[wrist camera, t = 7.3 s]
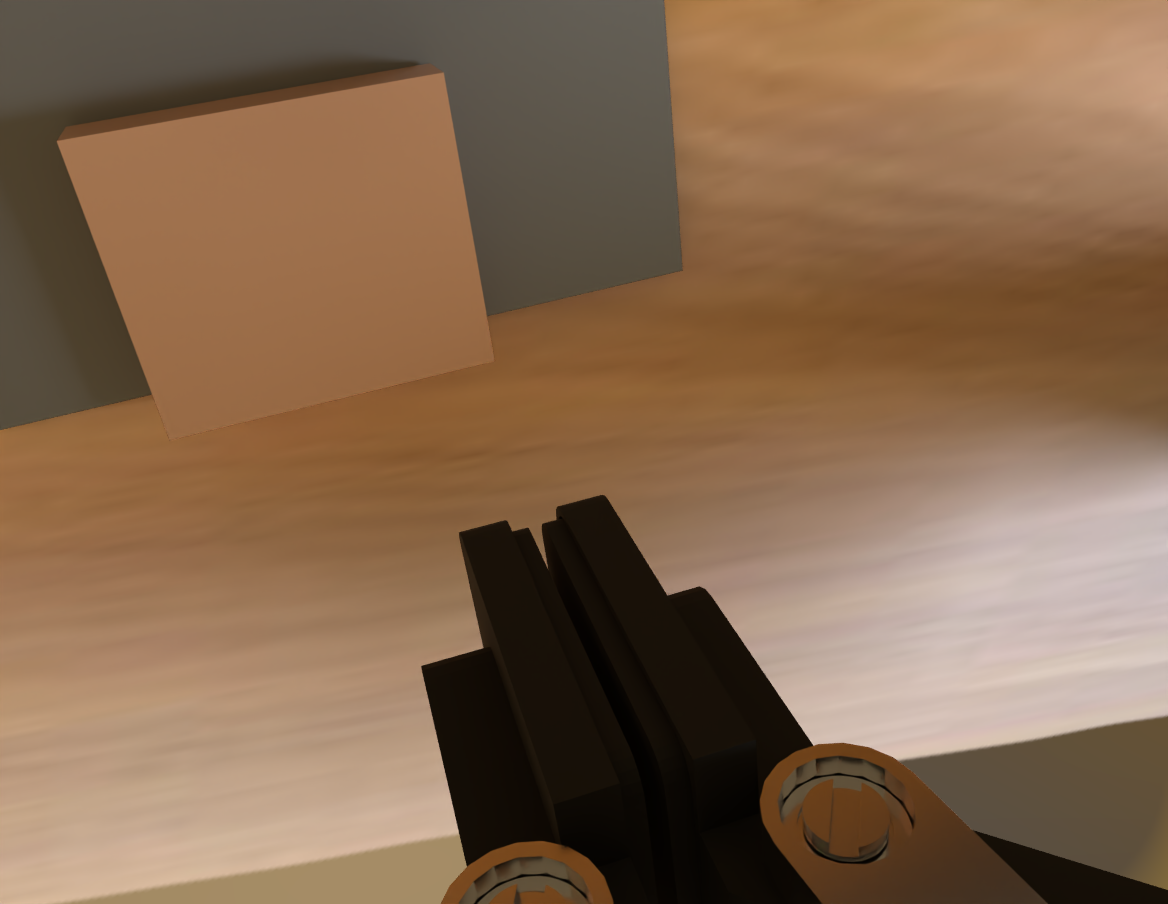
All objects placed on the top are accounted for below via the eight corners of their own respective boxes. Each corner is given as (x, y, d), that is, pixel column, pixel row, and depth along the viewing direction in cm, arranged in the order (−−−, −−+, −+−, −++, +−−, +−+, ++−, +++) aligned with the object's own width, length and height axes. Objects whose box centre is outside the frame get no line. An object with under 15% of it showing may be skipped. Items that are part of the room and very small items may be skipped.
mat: (624, -420, 21) (634, -428, 20) (674, 264, 28) (682, 270, 28) (-369, -350, 17) (-386, -358, 16) (-3, 421, 25) (-8, 431, 24)
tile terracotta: (443, 72, 22) (56, 141, 20) (494, 361, 25) (169, 440, 24) (428, 62, 23) (67, 125, 22) (479, 335, 27) (171, 409, 25)
